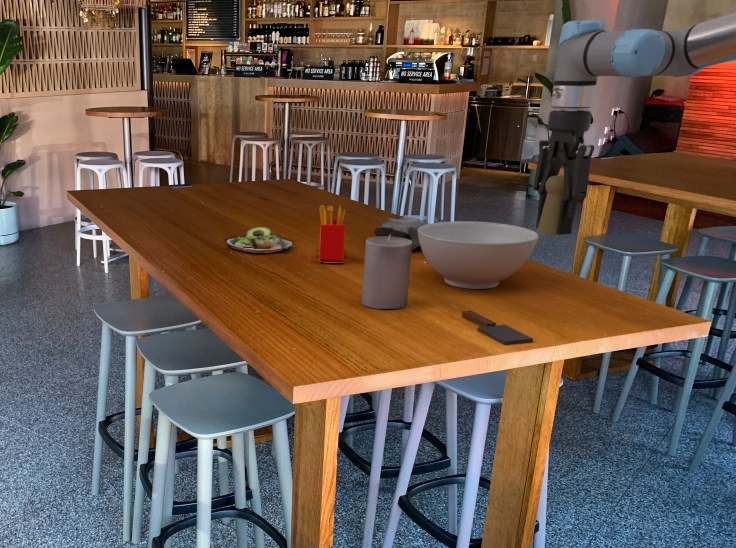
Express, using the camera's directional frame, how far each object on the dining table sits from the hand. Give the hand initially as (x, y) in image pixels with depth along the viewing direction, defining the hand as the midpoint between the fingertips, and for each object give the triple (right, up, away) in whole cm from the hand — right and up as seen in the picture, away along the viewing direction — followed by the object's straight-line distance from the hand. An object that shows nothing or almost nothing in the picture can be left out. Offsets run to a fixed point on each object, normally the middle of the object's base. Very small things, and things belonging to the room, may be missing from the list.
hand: (553, 230), depth 159 cm
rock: (-16, +8, +65) cm, 68 cm away
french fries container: (-38, +2, +50) cm, 63 cm away
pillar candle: (-32, -14, +11) cm, 37 cm away
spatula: (-14, -20, -6) cm, 26 cm away
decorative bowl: (-8, -7, +28) cm, 30 cm away
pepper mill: (0, 0, 0) cm, 0 cm away
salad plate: (-56, +8, +66) cm, 87 cm away
